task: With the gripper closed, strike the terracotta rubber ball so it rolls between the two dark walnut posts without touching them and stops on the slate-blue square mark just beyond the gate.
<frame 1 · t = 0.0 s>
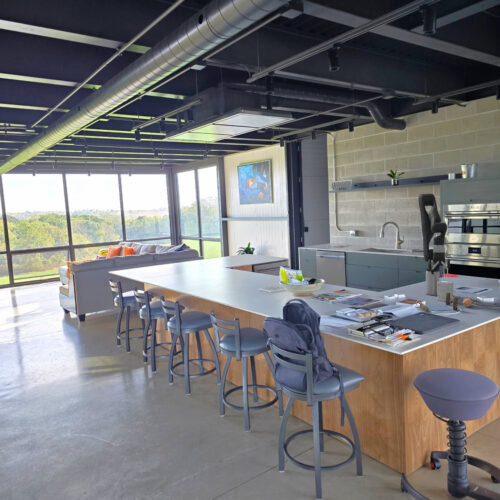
hand: (439, 274, 302), 17 cm above the countertop, tool pointing down, fingers open, 8 cm apart
ball: (467, 302, 279), on the countertop
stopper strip: (422, 307, 282), on the countertop
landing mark: (437, 307, 281), on the countertop
small box: (445, 300, 297), on the countertop
left post: (447, 304, 286), on the countertop
right post: (455, 309, 274), on the countertop
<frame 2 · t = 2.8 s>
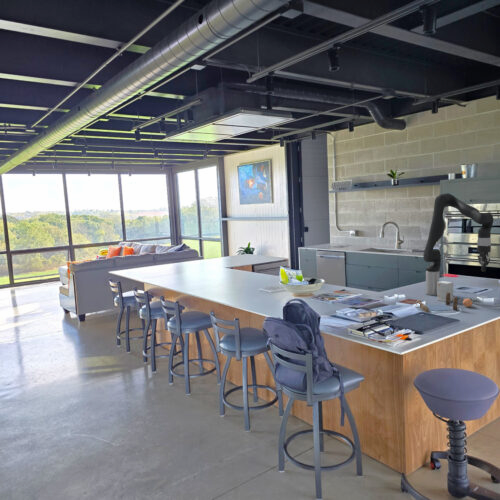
hand: (483, 271, 275), 23 cm above the countertop, tool pointing down, fingers closed
nothing on the countertop moved.
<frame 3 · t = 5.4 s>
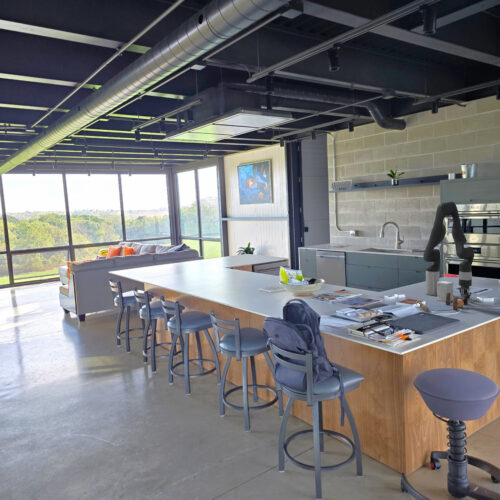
hand: (465, 304, 279), 2 cm above the countertop, tool pointing down, fingers closed
ball: (459, 303, 279), on the countertop
everything else where it was.
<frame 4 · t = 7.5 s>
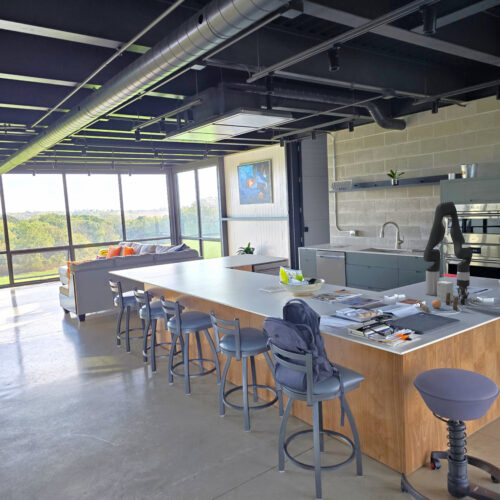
hand: (462, 304, 279), 2 cm above the countertop, tool pointing down, fingers closed
ball: (436, 304, 279), on the countertop
everything else where it was.
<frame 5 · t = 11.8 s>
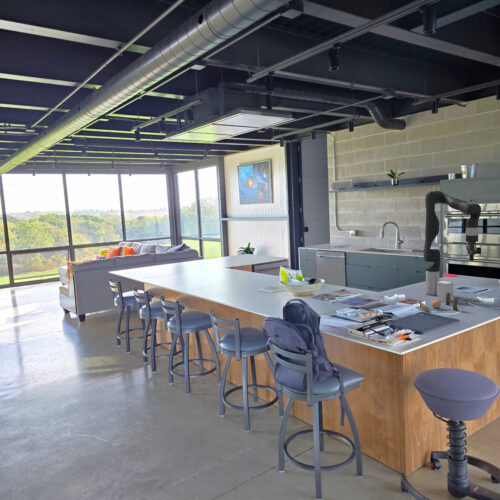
hand: (471, 260, 282), 29 cm above the countertop, tool pointing down, fingers closed
nothing on the countertop moved.
at the end: ball 2.1 cm from the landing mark (horizontally); ball never touched left post; ball never touched right post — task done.
